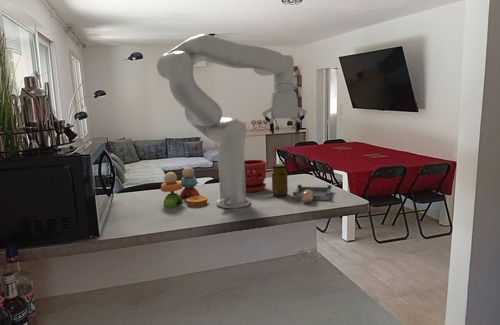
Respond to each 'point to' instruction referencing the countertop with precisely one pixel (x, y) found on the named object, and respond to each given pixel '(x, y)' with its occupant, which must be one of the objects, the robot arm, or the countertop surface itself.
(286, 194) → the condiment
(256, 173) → the plant pot
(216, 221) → the countertop surface
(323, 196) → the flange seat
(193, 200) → the wooden stacking toy
